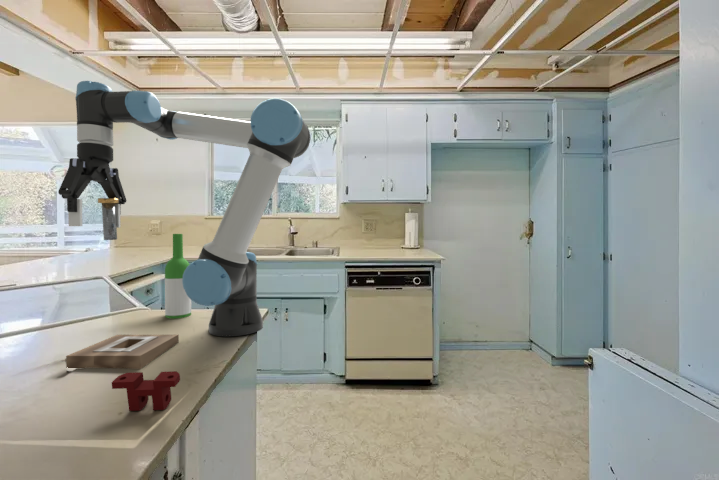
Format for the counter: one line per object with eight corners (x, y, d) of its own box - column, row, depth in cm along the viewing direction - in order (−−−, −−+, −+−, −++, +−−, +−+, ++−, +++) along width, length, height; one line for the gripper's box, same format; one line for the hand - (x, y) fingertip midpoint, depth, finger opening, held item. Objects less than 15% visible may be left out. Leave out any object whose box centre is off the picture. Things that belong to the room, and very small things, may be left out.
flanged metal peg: (107, 238, 98) (105, 198, 97) (124, 238, 98) (122, 198, 97) (95, 240, 94) (93, 198, 93) (113, 240, 94) (111, 198, 93)
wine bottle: (175, 327, 111) (175, 233, 111) (159, 325, 114) (158, 233, 114) (196, 322, 118) (195, 233, 118) (180, 320, 121) (180, 233, 121)
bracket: (121, 372, 60) (181, 371, 61) (125, 402, 61) (184, 400, 62) (111, 382, 57) (174, 380, 58) (115, 413, 58) (177, 411, 59)
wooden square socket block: (178, 347, 91) (178, 333, 91) (140, 371, 75) (140, 354, 75) (117, 348, 91) (117, 333, 91) (66, 372, 75) (66, 355, 75)
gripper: (114, 155, 103) (115, 227, 103) (36, 130, 78) (38, 225, 78) (139, 155, 103) (140, 227, 103) (70, 130, 78) (72, 225, 78)
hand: (96, 227), depth 91 cm, fingers open, 13 cm apart
